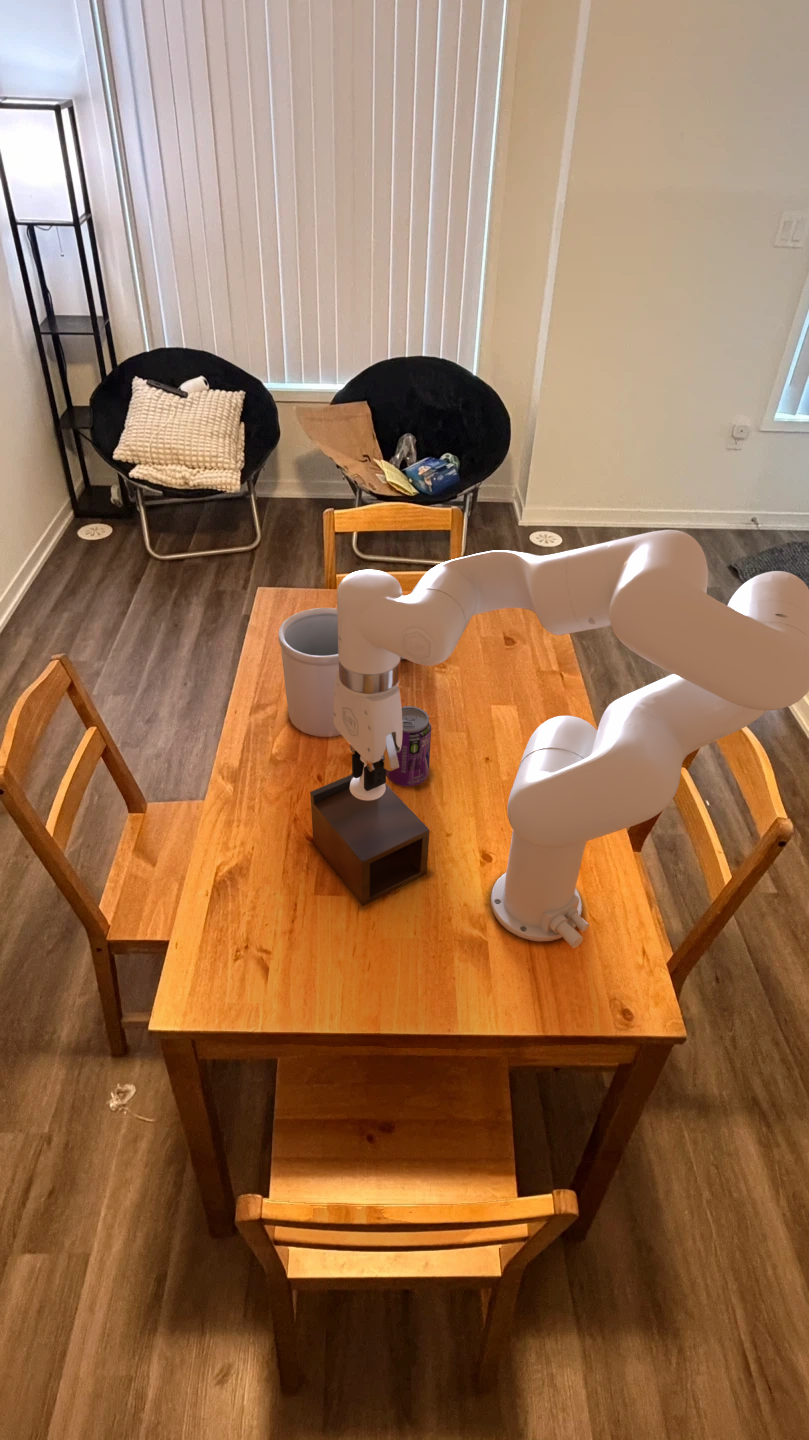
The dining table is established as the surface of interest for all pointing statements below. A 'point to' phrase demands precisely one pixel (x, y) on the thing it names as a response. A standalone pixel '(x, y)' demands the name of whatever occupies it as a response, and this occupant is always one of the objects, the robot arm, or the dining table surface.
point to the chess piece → (360, 792)
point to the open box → (368, 839)
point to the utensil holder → (311, 669)
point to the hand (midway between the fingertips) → (368, 779)
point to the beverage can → (413, 748)
